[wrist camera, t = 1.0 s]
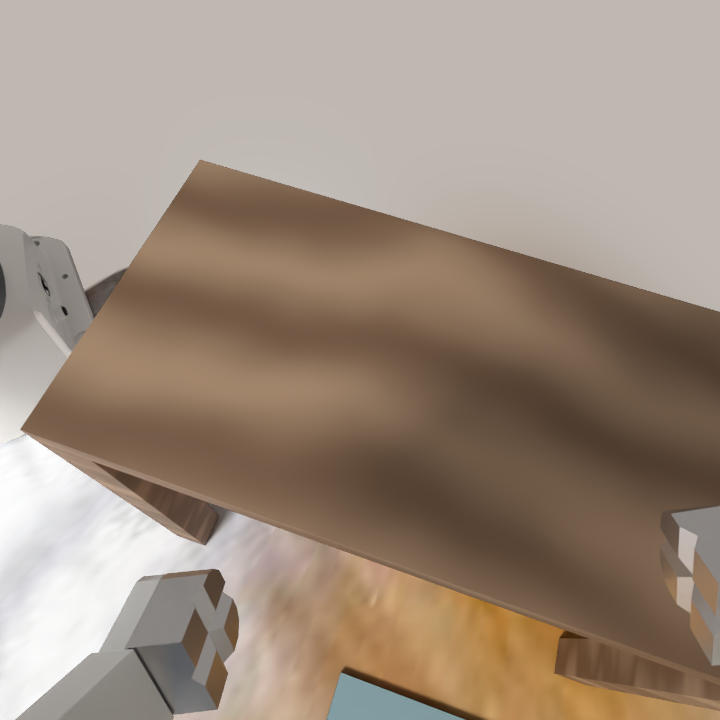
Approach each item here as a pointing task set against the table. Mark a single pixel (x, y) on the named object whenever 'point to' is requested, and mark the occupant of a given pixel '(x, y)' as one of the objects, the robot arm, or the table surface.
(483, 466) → the walnut shelf
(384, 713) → the teal mat
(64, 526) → the table surface
